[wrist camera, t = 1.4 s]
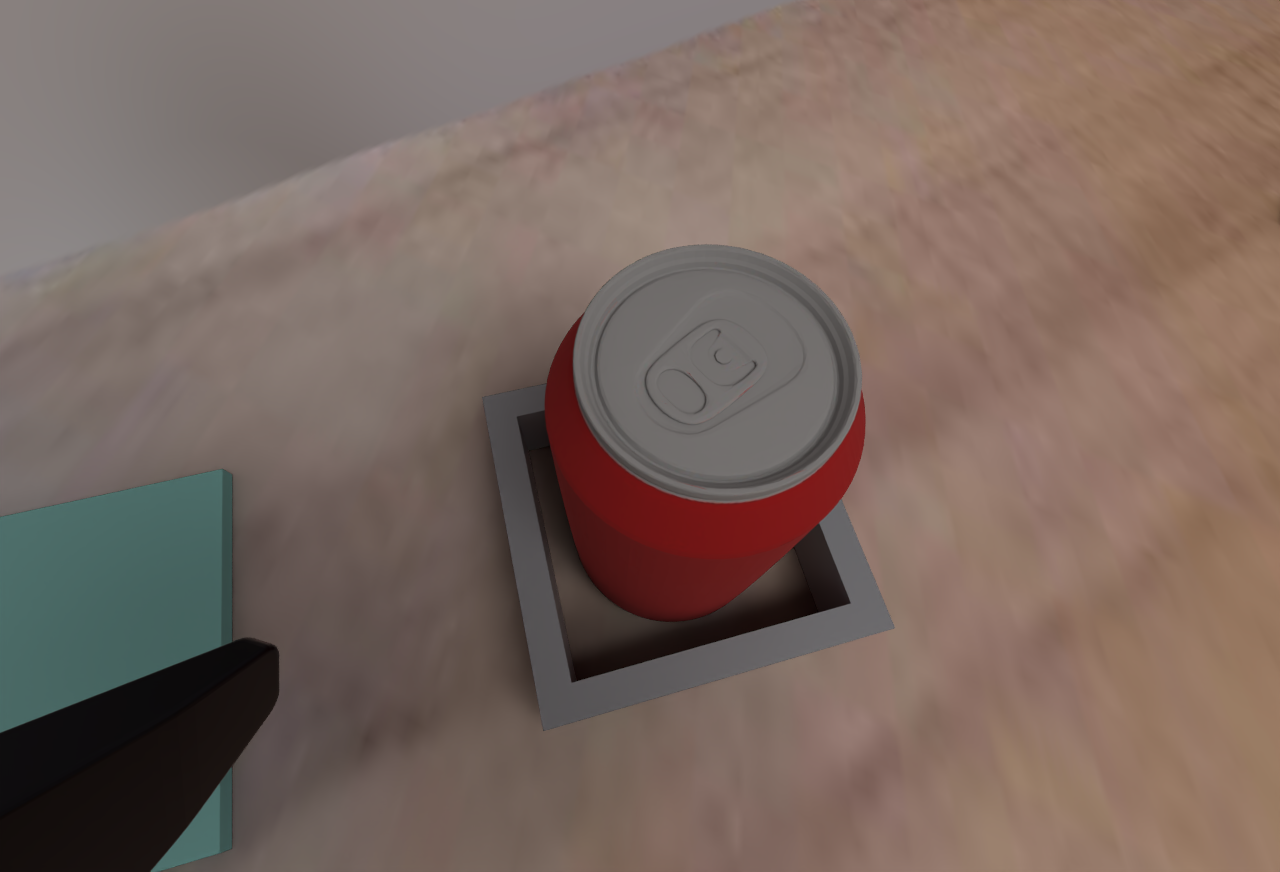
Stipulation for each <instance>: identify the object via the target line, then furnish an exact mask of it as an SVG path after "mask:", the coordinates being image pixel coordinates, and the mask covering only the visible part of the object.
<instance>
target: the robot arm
mask: <svg viewBox="0 0 1280 872" xmlns="http://www.w3.org/2000/svg"><path fill="white" fill-rule="evenodd" d="M278 695H279V651H278V649H277V647H276V646H275V645H273V644H270V643H267V642H264V641H261V640H258V639H255V638H242V639H238V640H236V641H233V642H231V643H228V644H225V645H223V646H220V647H218V648H215V649H213V650H210V651H208V652H205V653H202V654H200V655H197V656H195V657H192V658H190V659H187V660H185V661H182V662H179V663H177V664H174V665H172V666H169V667H167V668H164V669H162V670H159V671H156V672H154V673H151V674H149V675H146V676H144V677H141V678H139V679H136V680H133V681H131V682H128V683H126V684H123V685H121V686H118V687H116V688H113V689H110V690H108V691H105V692H103V693H100V694H98V695H95V696H93V697H90V698H87V699H85V700H82V701H80V702H77V703H75V704H72V705H70V706H67V707H64V708H62V709H59V710H57V711H54V712H52V713H49V714H47V715H44V716H41V717H39V718H36V719H34V720H31V721H29V722H26V723H24V724H21V725H18V726H16V727H13V728H11V729H8V730H6V731H3V732H1V733H0V872H151V870H152V869H153V868H154V867H155V866H156V864H157V863H158V862H159V861H160V860H161V859H162V857H163V856H164V855H165V854H166V853H167V852H168V850H169V849H170V848H171V847H172V846H173V844H174V843H175V842H176V841H177V840H178V838H179V837H180V836H181V835H182V833H183V832H184V831H185V830H186V829H187V827H188V826H189V825H190V823H191V822H192V821H193V819H194V818H195V817H196V815H197V814H198V813H199V811H200V810H201V809H202V807H203V806H204V805H205V803H206V802H207V800H208V799H209V798H210V796H211V795H212V793H213V792H214V791H215V789H216V788H217V786H218V785H219V784H220V782H221V781H222V779H223V778H224V777H225V775H226V774H227V773H228V771H229V770H230V768H231V767H232V766H233V764H234V763H235V761H236V760H237V759H238V757H239V756H240V754H241V753H242V752H243V750H244V749H245V747H246V746H247V745H248V743H249V742H250V740H251V739H252V738H253V736H254V735H255V733H256V732H257V731H258V729H259V728H260V727H261V725H262V724H263V722H264V721H265V720H266V718H267V717H268V715H269V714H270V712H271V711H272V709H273V707H274V706H275V704H276V701H277V698H278Z"/></svg>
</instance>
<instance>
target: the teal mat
mask: <svg viewBox="0 0 1280 872" xmlns="http://www.w3.org/2000/svg"><path fill="white" fill-rule="evenodd" d="M231 642H232V474H230V473H229V472H227V471H225V470H224V469H220V470H215V471H211V472H206V473H201V474H197V475H192V476H188V477H183V478H178V479H174V480H169V481H164V482H160V483H155V484H151V485H146V486H141V487H137V488H132V489H127V490H123V491H118V492H114V493H109V494H104V495H100V496H95V497H91V498H86V499H81V500H77V501H72V502H67V503H63V504H58V505H54V506H49V507H44V508H40V509H35V510H30V511H26V512H21V513H17V514H12V515H7V516H3V517H0V733H1V732H3V731H6V730H8V729H11V728H13V727H16V726H18V725H21V724H24V723H26V722H29V721H31V720H34V719H36V718H39V717H41V716H44V715H47V714H49V713H52V712H54V711H57V710H59V709H62V708H64V707H67V706H70V705H72V704H75V703H77V702H80V701H82V700H85V699H87V698H90V697H93V696H95V695H98V694H100V693H103V692H105V691H108V690H110V689H113V688H116V687H118V686H121V685H123V684H126V683H128V682H131V681H133V680H136V679H139V678H141V677H144V676H146V675H149V674H151V673H154V672H156V671H159V670H162V669H164V668H167V667H169V666H172V665H174V664H177V663H179V662H182V661H185V660H187V659H190V658H192V657H195V656H197V655H200V654H202V653H205V652H208V651H210V650H213V649H215V648H218V647H220V646H223V645H225V644H228V643H231ZM230 849H232V767H231V768H230V770H229V771H228V773H227V774H226V775H225V777H224V778H223V779H222V781H221V782H220V784H219V785H218V786H217V788H216V789H215V791H214V792H213V793H212V795H211V796H210V798H209V799H208V800H207V802H206V803H205V805H204V806H203V807H202V809H201V810H200V811H199V813H198V814H197V815H196V817H195V818H194V819H193V821H192V822H191V823H190V825H189V826H188V827H187V829H186V830H185V831H184V832H183V833H182V835H181V836H180V837H179V838H178V840H177V841H176V842H175V843H174V844H173V846H172V847H171V848H170V849H169V850H168V852H167V853H166V854H165V855H164V856H163V857H162V859H161V860H160V861H159V862H158V863H157V864H156V866H155V867H154V868H153V869H152V870H151V872H159V871H162V870H165V869H169V868H172V867H175V866H179V865H182V864H185V863H189V862H192V861H195V860H199V859H202V858H205V857H209V856H212V855H216V854H219V853H222V852H224V851H227V850H230Z"/></svg>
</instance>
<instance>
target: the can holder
mask: <svg viewBox="0 0 1280 872" xmlns="http://www.w3.org/2000/svg"><path fill="white" fill-rule="evenodd" d="M546 385H547V383H546V384H542V385H537V386H532V387H528V388H523V389H518V390H514V391H509V392H504V393H499V394H495V395H490V396H485V397H482V399H483V404H484V410H485V415H486V421H487V426H488V431H489V437H490V442H491V448H492V453H493V459H494V464H495V470H496V475H497V480H498V486H499V491H500V497H501V502H502V508H503V513H504V519H505V524H506V529H507V535H508V540H509V546H510V551H511V557H512V562H513V568H514V573H515V578H516V584H517V589H518V595H519V600H520V606H521V611H522V617H523V622H524V628H525V633H526V638H527V644H528V649H529V655H530V660H531V666H532V671H533V677H534V682H535V687H536V693H537V698H538V704H539V709H540V715H541V720H542V726H543V731H546V730H549V729H552V728H556V727H559V726H563V725H566V724H569V723H573V722H576V721H580V720H583V719H587V718H590V717H593V716H597V715H600V714H604V713H607V712H610V711H614V710H617V709H621V708H624V707H627V706H631V705H634V704H638V703H641V702H645V701H648V700H651V699H655V698H658V697H662V696H665V695H668V694H672V693H675V692H679V691H682V690H685V689H689V688H692V687H696V686H699V685H703V684H706V683H709V682H713V681H716V680H720V679H723V678H726V677H730V676H733V675H737V674H740V673H744V672H747V671H750V670H754V669H757V668H761V667H764V666H767V665H771V664H774V663H778V662H781V661H784V660H788V659H791V658H795V657H798V656H802V655H805V654H808V653H812V652H815V651H819V650H822V649H825V648H829V647H832V646H836V645H839V644H842V643H846V642H849V641H853V640H856V639H860V638H863V637H866V636H870V635H873V634H877V633H880V632H883V631H887V630H890V629H894V628H895V627H894V624H893V622H892V620H891V617H890V615H889V612H888V610H887V608H886V605H885V603H884V600H883V598H882V596H881V593H880V591H879V588H878V586H877V584H876V581H875V579H874V576H873V574H872V572H871V569H870V567H869V564H868V562H867V560H866V557H865V555H864V552H863V550H862V548H861V545H860V543H859V540H858V538H857V536H856V533H855V531H854V528H853V526H852V524H851V521H850V519H849V516H848V514H847V512H846V509H845V507H844V505H843V502H842V500H841V499H840V501H839V502H838V504H837V505H836V506H835V507H834V508H833V509H832V510H831V512H830V513H829V514H828V515H827V516H826V517H825V518H824V519H823V520H822V521H821V522H819V523H818V524H817V525H816V526H815V527H814V528H813V529H812V530H811V531H810V532H809V533H808V534H807V535H806V536H805V537H804V538H802V539H801V540H800V541H799V542H798V543H797V544H796V545H795V546H794V547H795V550H796V553H797V556H798V558H799V561H800V564H801V566H802V569H803V572H804V574H805V577H806V580H807V582H808V585H809V588H810V590H811V593H812V596H813V598H814V601H815V604H816V607H817V609H818V612H819V613H816V614H812V615H809V616H805V617H802V618H798V619H795V620H791V621H788V622H784V623H780V624H777V625H773V626H770V627H766V628H763V629H759V630H756V631H752V632H749V633H745V634H742V635H738V636H735V637H731V638H728V639H724V640H721V641H717V642H713V643H710V644H706V645H703V646H699V647H696V648H692V649H689V650H685V651H682V652H678V653H675V654H671V655H668V656H664V657H661V658H657V659H654V660H650V661H647V662H643V663H639V664H636V665H632V666H629V667H625V668H622V669H618V670H615V671H611V672H608V673H604V674H601V675H597V676H594V677H590V678H587V679H583V680H580V681H577V680H576V676H575V671H574V666H573V661H572V656H571V652H570V647H569V642H568V637H567V633H566V628H565V623H564V618H563V613H562V609H561V604H560V599H559V594H558V590H557V585H556V580H555V575H554V570H553V566H552V561H551V556H550V551H549V547H548V542H547V537H546V532H545V527H544V523H543V518H542V513H541V508H540V504H539V499H538V494H537V489H536V485H535V480H534V475H533V470H532V465H531V461H530V456H529V450H533V449H538V448H542V447H547V446H550V443H549V438H548V434H547V429H546V421H545V390H546Z"/></svg>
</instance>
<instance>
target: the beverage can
mask: <svg viewBox="0 0 1280 872" xmlns="http://www.w3.org/2000/svg"><path fill="white" fill-rule="evenodd" d="M545 421H546V429H547V434H548V438H549V443H550V447H551V451H552V456H553V460H554V465H555V469H556V474H557V478H558V482H559V486H560V490H561V494H562V498H563V502H564V506H565V510H566V514H567V518H568V521H569V525H570V528H571V532H572V535H573V539H574V542H575V545H576V548H577V551H578V554H579V557H580V560H581V562H582V565H583V567H584V569H585V571H586V573H587V574H588V576H589V577H590V579H591V580H592V582H593V583H594V584H595V586H596V587H597V588H598V589H599V590H600V591H601V592H602V593H603V594H604V595H605V596H606V597H607V598H608V599H609V600H611V601H612V602H613V603H615V604H616V605H617V606H619V607H621V608H622V609H624V610H626V611H628V612H630V613H632V614H635V615H637V616H640V617H643V618H647V619H651V620H656V621H665V622H678V621H687V620H693V619H696V618H700V617H703V616H706V615H708V614H711V613H713V612H715V611H717V610H718V609H720V608H722V607H723V606H725V605H726V604H727V603H729V602H730V601H731V600H733V599H734V598H735V597H736V596H738V595H739V594H740V593H742V592H743V591H744V590H745V589H746V588H748V587H749V586H750V585H751V584H752V583H754V582H755V581H756V580H757V579H758V578H759V577H761V576H762V575H763V574H764V573H765V572H766V571H767V570H768V569H770V568H771V567H772V566H773V565H774V564H775V563H776V562H777V561H779V560H780V559H781V558H782V557H783V556H784V555H785V554H786V553H787V552H789V551H790V550H791V549H792V548H793V547H794V546H795V545H796V544H797V543H798V542H799V541H800V540H801V539H802V538H804V537H805V536H806V535H807V534H808V533H809V532H810V531H811V530H812V529H813V528H814V527H815V526H816V525H817V524H818V523H819V522H821V521H822V520H823V519H824V518H825V517H826V516H827V515H828V514H829V513H830V512H831V510H832V509H833V508H834V507H835V506H836V505H837V504H838V502H839V501H840V499H841V498H842V497H843V495H844V494H845V492H846V491H847V489H848V487H849V485H850V484H851V482H852V480H853V477H854V475H855V473H856V471H857V468H858V465H859V462H860V459H861V455H862V450H863V446H864V438H865V405H864V399H863V393H862V371H861V363H860V356H859V352H858V349H857V345H856V342H855V340H854V337H853V334H852V332H851V330H850V328H849V326H848V324H847V322H846V320H845V319H844V317H843V315H842V314H841V312H840V311H839V310H838V308H837V307H836V305H835V304H834V303H833V302H832V301H831V299H830V298H829V297H828V296H827V295H826V294H825V293H824V292H823V291H822V290H821V289H820V288H819V287H818V286H817V285H816V284H814V283H813V282H812V281H811V280H810V279H808V278H807V277H806V276H804V275H803V274H801V273H800V272H798V271H797V270H795V269H793V268H792V267H790V266H788V265H787V264H785V263H783V262H781V261H778V260H776V259H774V258H772V257H769V256H767V255H764V254H761V253H758V252H755V251H751V250H747V249H743V248H739V247H732V246H724V245H689V246H682V247H676V248H671V249H667V250H664V251H660V252H657V253H654V254H651V255H649V256H647V257H644V258H642V259H640V260H638V261H636V262H634V263H633V264H631V265H629V266H627V267H626V268H624V269H623V270H621V271H620V272H619V273H617V274H616V275H615V276H614V277H612V278H611V279H610V280H609V281H608V282H607V283H606V284H605V285H604V286H603V287H602V288H601V289H600V291H599V292H598V293H597V294H596V295H595V297H594V298H593V299H592V301H591V302H590V304H589V306H588V307H587V309H586V311H585V312H584V313H583V314H582V316H581V317H580V318H579V319H578V320H577V321H576V322H575V324H574V325H573V326H572V327H571V329H570V330H569V331H568V333H567V335H566V336H565V338H564V340H563V341H562V343H561V345H560V347H559V349H558V351H557V353H556V355H555V357H554V360H553V362H552V365H551V368H550V371H549V375H548V379H547V385H546V390H545Z"/></svg>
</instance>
